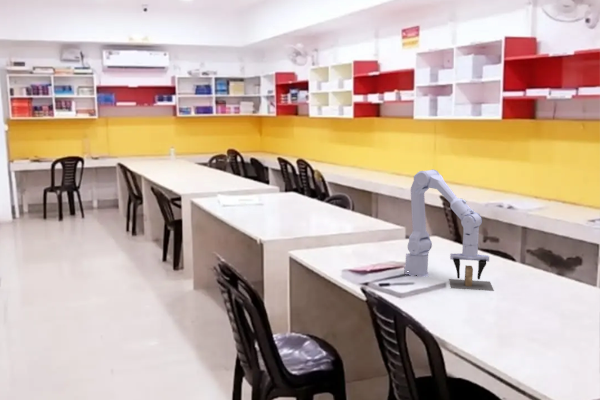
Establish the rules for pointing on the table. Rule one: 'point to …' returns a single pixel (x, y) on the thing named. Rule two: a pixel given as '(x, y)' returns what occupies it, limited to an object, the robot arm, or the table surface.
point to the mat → (475, 285)
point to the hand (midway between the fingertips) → (468, 278)
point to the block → (468, 275)
